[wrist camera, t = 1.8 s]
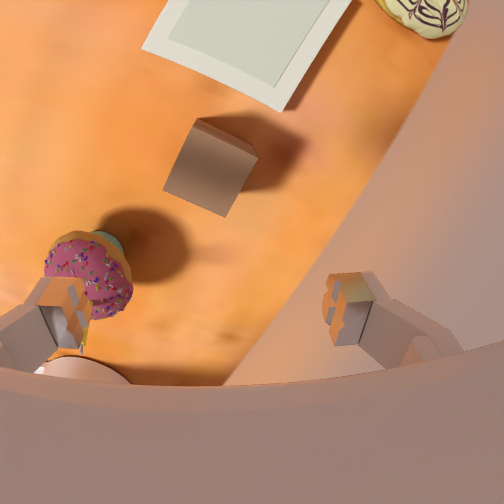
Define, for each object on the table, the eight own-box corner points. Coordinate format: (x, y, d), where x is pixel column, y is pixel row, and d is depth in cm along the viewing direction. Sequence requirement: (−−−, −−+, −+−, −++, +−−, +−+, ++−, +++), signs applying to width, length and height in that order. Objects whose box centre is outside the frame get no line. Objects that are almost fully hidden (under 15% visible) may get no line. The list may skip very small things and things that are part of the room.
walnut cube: (224, 193, 28) (225, 217, 23) (171, 170, 26) (162, 190, 22) (251, 144, 26) (258, 158, 21) (197, 118, 24) (192, 126, 20)
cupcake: (158, 248, 30) (133, 340, 19) (116, 300, 32) (87, 389, 22) (86, 195, 26) (23, 267, 16) (51, 256, 29) (0, 335, 18)
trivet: (277, 111, 24) (281, 113, 23) (145, 50, 20) (140, 48, 19) (346, 1, 19) (353, -3, 18) (218, -63, 16) (218, -70, 14)
